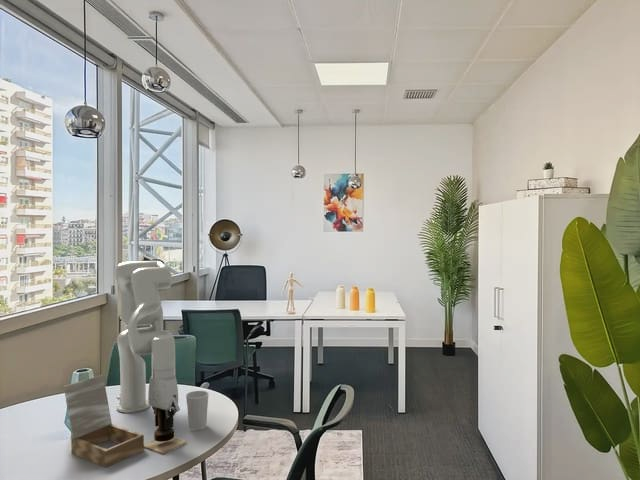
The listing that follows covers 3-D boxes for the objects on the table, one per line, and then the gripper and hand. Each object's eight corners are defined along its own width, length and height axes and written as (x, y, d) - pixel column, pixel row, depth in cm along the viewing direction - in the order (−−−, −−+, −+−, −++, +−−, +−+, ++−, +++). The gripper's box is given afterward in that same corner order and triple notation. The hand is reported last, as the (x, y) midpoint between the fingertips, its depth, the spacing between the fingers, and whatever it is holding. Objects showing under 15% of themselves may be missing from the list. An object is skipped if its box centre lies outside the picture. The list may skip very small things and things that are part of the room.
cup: (203, 432, 183) (202, 398, 182) (182, 430, 184) (182, 397, 184) (212, 423, 191) (212, 391, 190) (192, 421, 192) (192, 390, 192)
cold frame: (64, 450, 168) (63, 385, 167) (102, 435, 180) (101, 374, 179) (106, 467, 157) (104, 397, 156) (143, 449, 169) (143, 385, 168)
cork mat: (142, 447, 170) (142, 445, 170) (166, 436, 179) (166, 434, 179) (163, 454, 165) (162, 452, 165) (186, 443, 174) (186, 441, 174)
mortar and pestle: (156, 433, 175) (156, 381, 174) (176, 433, 175) (175, 381, 175) (152, 442, 168) (151, 388, 168) (172, 441, 169) (171, 387, 168)
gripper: (137, 371, 172) (138, 425, 173) (172, 380, 163) (172, 436, 164) (155, 366, 179) (156, 418, 179) (189, 373, 170) (190, 428, 171)
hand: (164, 426), depth 172 cm, fingers closed on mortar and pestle, 3 cm apart
